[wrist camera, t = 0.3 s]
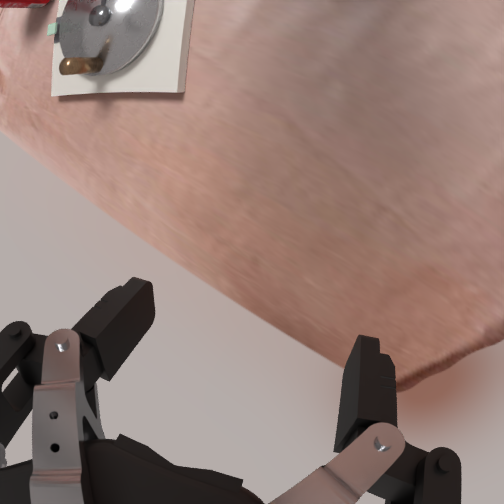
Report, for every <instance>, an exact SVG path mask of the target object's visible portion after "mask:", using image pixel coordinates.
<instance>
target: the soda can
mask: <svg viewBox="0 0 504 504" xmlns="http://www.w3.org/2000/svg"><path fill="white" fill-rule="evenodd" d="M49 1H50V0H0V7H1V8H38V7H43V6H44V5H46V4H47V3H48V2H49Z"/></svg>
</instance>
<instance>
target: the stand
mask: <svg viewBox="0 0 504 504" xmlns="http://www.w3.org/2000/svg"><path fill="white" fill-rule="evenodd" d="M67 1H68V0H59V6H58V13H57V19H56V23H52V24H49V25H48V32H47V36H49V35H53V34H55V37H54V50H53V64H52V90H51V96H61V95H73V94H87V93H107V92H175V93H178V92H185V81H186V70H187V60H188V50H189V41H190V32H191V24H192V16H193V8H194V1H195V0H163V11H162V16H161V20H160V23H159V26H158V28H157V31H156V33H155V35H154V37H153V39H152V40H151V42H150V43H149V45H148V46H147V48H146V49H145V50H144V51H143V53H142V54H141V55H140V56H139V57H138V58H137V59H136V60H135V61H134V62H132V63H131V64H130V65H129V66H127V67H125V68H124V69H122V70H120V71H118V72H115V73H112V74H108V75H99V76H89V75H84V74H74V75H61V74H60V72H59V65H60V62H61V61H62V59H64V56H63V53H62V50H61V47H60V40H59V29H60V22H61V17H62V13H63V11H64V8H65V5H66V3H67Z"/></svg>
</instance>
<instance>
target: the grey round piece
mask: <svg viewBox="0 0 504 504" xmlns="http://www.w3.org/2000/svg"><path fill="white" fill-rule="evenodd" d="M162 11H163V0H68V1H67V3H66V5H65V8H64V11H63V13H62V17H61V22H60V29H59V40H60V47H61V50H62V53H63V56H64V59H62V61H61V62H60V65H59V72H60V74H61V75H74V74H84V75H89V76H99V75H108V74H112V73H115V72H118V71H120V70H122V69H124V68H125V67H127V66H129V65H130V64H131V63H132V62H134V61H135V60H136V59H137V58H138V57H139V56H140V55H141V54H142V53H143V51H144V50H145V49H146V48H147V46H148V45H149V43H150V42H151V40H152V39H153V37H154V35H155V33H156V31H157V28H158V26H159V23H160V20H161V16H162Z"/></svg>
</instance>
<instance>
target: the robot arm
mask: <svg viewBox="0 0 504 504" xmlns="http://www.w3.org/2000/svg"><path fill="white" fill-rule="evenodd" d="M154 318H155V305H154V295H153V285H152V283H151V282H149V281H146V280H142V279H139V278H136V277H132V278H131V279H130V280H129V281H128V282H127V283H126V284H125V285H124V286H118V287H116V288H114V289H112V290H110V291H108V292H107V293H106V294H105V295H104V296H103V297H102V298H101V301H98V302H97V303H96V304H95V306H94V307H92V308H91V309H90V310H89V311H88V312H87V313H86V314H85V315H84V316H83V317H82V318H81V319H80V321H79V322H78V323H77V324H76V325H75V326H74V327H73V328H72V329H59V330H56V331H54V332H52V333H51V334H50V335H49V336H45V335H38V334H33V333H32V330H31V328H30V326H29V325H28V324H27V323H26V322H23V321H16V322H13V323H11V324H9V325H7V326H6V327H5V328H4V329H3V330H2V331H1V332H0V504H264V503H263V501H262V500H261V499H260V498H258V497H257V496H256V495H255V494H254V493H252V492H251V491H249V490H248V489H246V488H244V487H242V483H243V479H239V478H236V477H232V476H229V475H226V474H222V473H219V472H216V471H213V470H207V469H198V468H189V467H182V466H176V465H173V464H172V463H170V462H169V461H167V460H166V459H165V458H163V457H162V456H160V455H159V454H157V453H156V452H155V451H153V450H152V449H151V448H149V447H148V446H146V445H144V444H141V443H139V442H137V441H135V440H133V439H130V438H128V437H126V436H124V435H122V434H119V436H118V438H117V439H116V440H112V439H105V436H104V432H103V430H102V426H101V420H100V411H99V402H98V393H97V384H96V381H97V380H98V379H99V377H101V378H103V379H105V380H107V381H110V380H111V379H112V377H113V376H114V375H115V374H116V372H117V371H118V369H119V368H120V367H121V365H122V364H123V363H124V361H125V360H126V359H127V357H128V356H129V355H130V353H131V352H132V351H133V349H134V348H135V347H136V345H137V344H138V342H139V341H140V340H141V339H142V337H143V336H144V334H145V333H146V332H147V331H148V330H149V328H150V327H151V325H152V324H153V321H154ZM15 368H17V370H18V373H17V375H16V376H15V377H14V379H13V380H12V381H11V382H10V384H9V385H8V386H7V387H6V389H5V390H4V391H3V392H2V384H3V382H4V381H5V380H6V378H7V377H8V376H9V375H10V373H11V372H12V371H13V370H14V369H15ZM395 378H396V376H395V366H394V364H393V362H392V360H391V358H390V356H389V355H387V354H381V353H380V342H379V339H378V338H374V337H369V336H364V335H359V336H358V337H357V339H356V342H355V344H354V347H353V349H352V351H351V354H350V356H349V358H348V360H347V363H346V366H345V369H344V373H343V379H342V389H341V398H340V407H339V415H338V423H337V431H336V438H335V445H334V451H333V452H337V453H340V454H338V455H337V456H336V457H335V458H334V459H332V460H331V461H330V462H329V463H327V464H326V465H324V466H321V467H319V468H318V469H316V470H315V471H314V472H312V473H311V474H310V475H308V476H307V477H306V478H304V479H303V480H302V481H301V482H299V483H297V484H296V485H295V486H294V487H292V488H291V489H289V490H288V491H286V492H285V493H283V494H282V495H280V496H279V497H278V498H276V499H275V500H273V501H272V502H270V503H268V504H355V503H356V502H357V501H358V499H359V498H360V497H361V496H362V495H363V494H364V493H365V492H366V491H367V492H369V493H371V494H374V495H376V496H378V497H381V498H383V499H386V500H385V504H461V462H460V459H459V457H458V456H457V454H456V453H455V452H454V451H452V450H451V449H449V448H445V447H438V448H435V449H433V450H432V451H431V452H426V451H424V450H422V449H419V448H417V447H414V446H412V445H410V444H409V443H407V442H406V441H405V439H404V436H403V434H402V433H401V431H400V430H399V429H398V427H397V397H396V380H395ZM32 409H33V413H32V454H33V459H31V460H28V461H25V462H21V463H18V464H14V465H11V466H7V467H6V465H7V461H6V459H5V448H6V447H7V445H8V444H9V442H10V441H11V439H12V438H13V436H14V435H15V433H16V432H17V430H18V429H19V427H20V426H21V425H22V423H23V422H24V420H25V419H26V417H27V416H28V415H29V413H30V412H31V410H32Z"/></svg>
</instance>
